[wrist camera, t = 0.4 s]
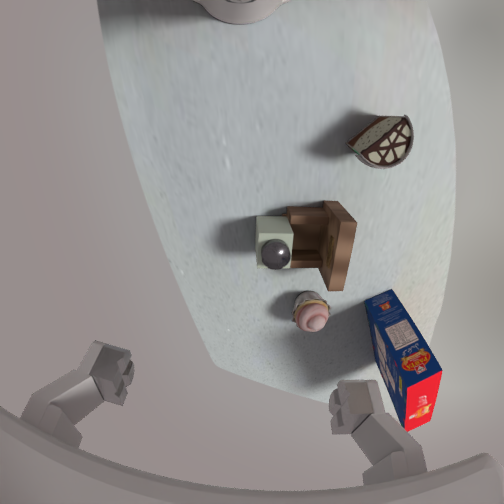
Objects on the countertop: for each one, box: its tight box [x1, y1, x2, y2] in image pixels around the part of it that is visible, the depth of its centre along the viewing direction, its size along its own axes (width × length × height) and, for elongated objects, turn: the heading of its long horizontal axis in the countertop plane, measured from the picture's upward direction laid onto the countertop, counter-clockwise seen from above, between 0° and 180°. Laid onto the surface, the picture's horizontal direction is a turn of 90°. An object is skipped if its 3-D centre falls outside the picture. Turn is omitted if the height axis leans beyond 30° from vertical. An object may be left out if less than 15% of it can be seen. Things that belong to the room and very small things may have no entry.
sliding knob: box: [255, 216, 294, 270], centre depth 54 cm, size 7×6×10 cm
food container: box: [346, 115, 414, 169], centre depth 46 cm, size 12×6×10 cm, turn 133°
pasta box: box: [364, 289, 442, 432], centre depth 62 cm, size 28×8×28 cm, turn 23°
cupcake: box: [292, 291, 331, 332], centre depth 63 cm, size 9×9×10 cm
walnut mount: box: [282, 201, 357, 291], centre depth 54 cm, size 14×11×11 cm
